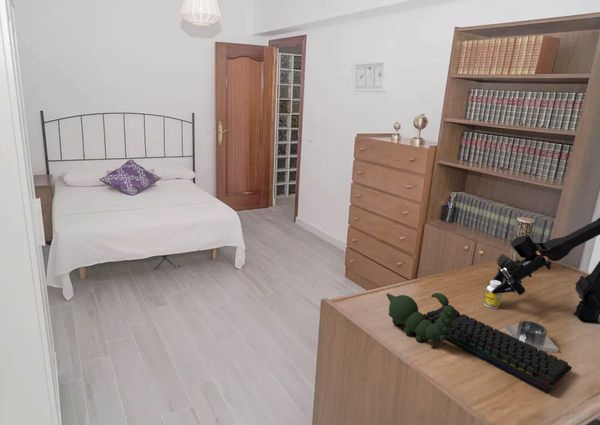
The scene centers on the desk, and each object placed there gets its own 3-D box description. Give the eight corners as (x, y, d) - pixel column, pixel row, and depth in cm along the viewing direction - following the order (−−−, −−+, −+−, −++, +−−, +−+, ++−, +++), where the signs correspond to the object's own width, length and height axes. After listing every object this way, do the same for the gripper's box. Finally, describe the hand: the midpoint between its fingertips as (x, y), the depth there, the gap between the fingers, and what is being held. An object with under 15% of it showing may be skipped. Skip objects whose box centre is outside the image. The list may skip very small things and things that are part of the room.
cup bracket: (540, 331, 147) (543, 319, 145) (557, 352, 135) (561, 339, 134) (504, 328, 147) (507, 316, 146) (518, 348, 136) (521, 335, 135)
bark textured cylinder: (524, 275, 192) (536, 222, 185) (508, 273, 193) (519, 220, 186) (520, 269, 198) (531, 217, 191) (504, 267, 200) (515, 216, 192)
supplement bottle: (480, 303, 164) (485, 280, 161) (490, 301, 166) (495, 278, 163) (491, 310, 159) (496, 286, 156) (502, 307, 161) (507, 284, 159)
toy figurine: (451, 349, 136) (390, 310, 154) (466, 299, 129) (401, 263, 147) (433, 360, 130) (373, 317, 148) (448, 307, 124) (383, 269, 141)
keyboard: (570, 374, 126) (574, 360, 124) (548, 398, 115) (552, 382, 114) (442, 313, 156) (444, 300, 155) (416, 327, 146) (418, 314, 144)
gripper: (507, 241, 164) (472, 263, 169) (521, 259, 146) (482, 284, 152) (525, 262, 165) (490, 284, 170) (541, 283, 147) (501, 307, 152)
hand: (490, 289), depth 161 cm, fingers closed on supplement bottle, 5 cm apart
